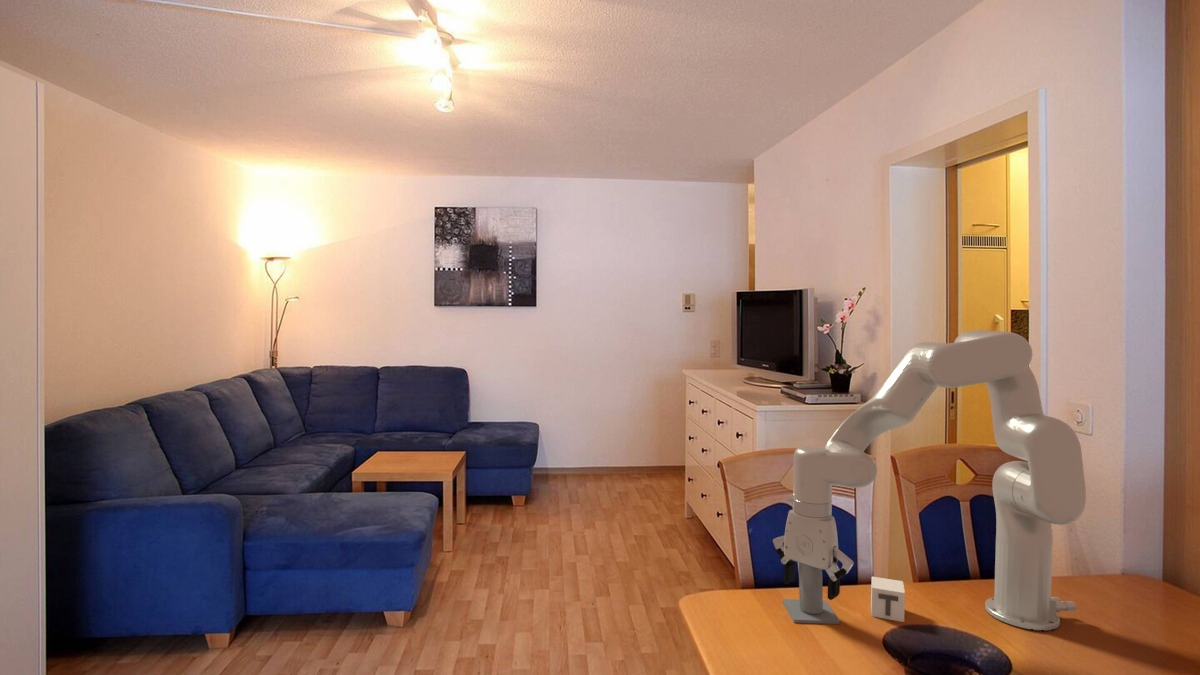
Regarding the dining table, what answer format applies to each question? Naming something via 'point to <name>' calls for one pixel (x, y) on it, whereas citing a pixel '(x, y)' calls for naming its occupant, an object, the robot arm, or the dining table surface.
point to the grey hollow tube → (810, 589)
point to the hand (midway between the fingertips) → (810, 589)
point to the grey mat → (801, 617)
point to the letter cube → (887, 599)
